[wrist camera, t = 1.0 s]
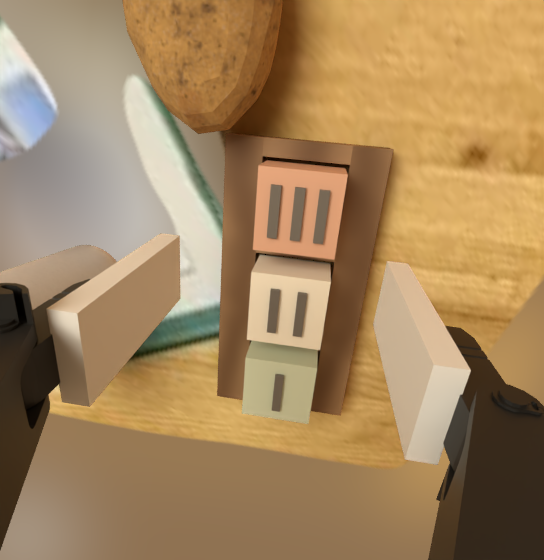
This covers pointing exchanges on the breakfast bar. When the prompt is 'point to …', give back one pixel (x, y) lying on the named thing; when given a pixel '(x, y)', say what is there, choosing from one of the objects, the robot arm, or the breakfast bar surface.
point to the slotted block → (279, 381)
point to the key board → (346, 266)
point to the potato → (205, 55)
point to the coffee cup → (58, 271)
